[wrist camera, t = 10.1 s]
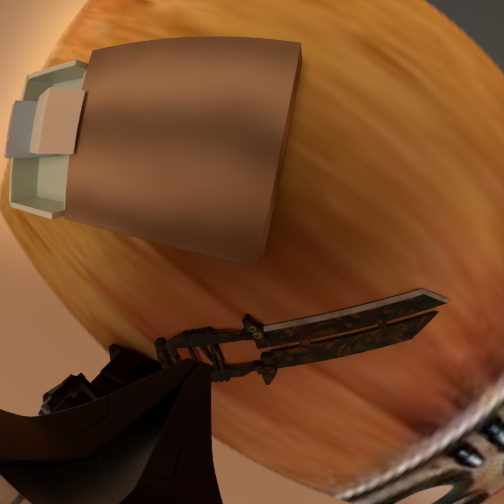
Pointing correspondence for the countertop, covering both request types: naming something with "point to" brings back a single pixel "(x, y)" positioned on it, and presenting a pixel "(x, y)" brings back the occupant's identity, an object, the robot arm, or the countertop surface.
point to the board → (185, 142)
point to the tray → (44, 168)
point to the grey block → (21, 131)
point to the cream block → (56, 121)
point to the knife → (310, 335)
